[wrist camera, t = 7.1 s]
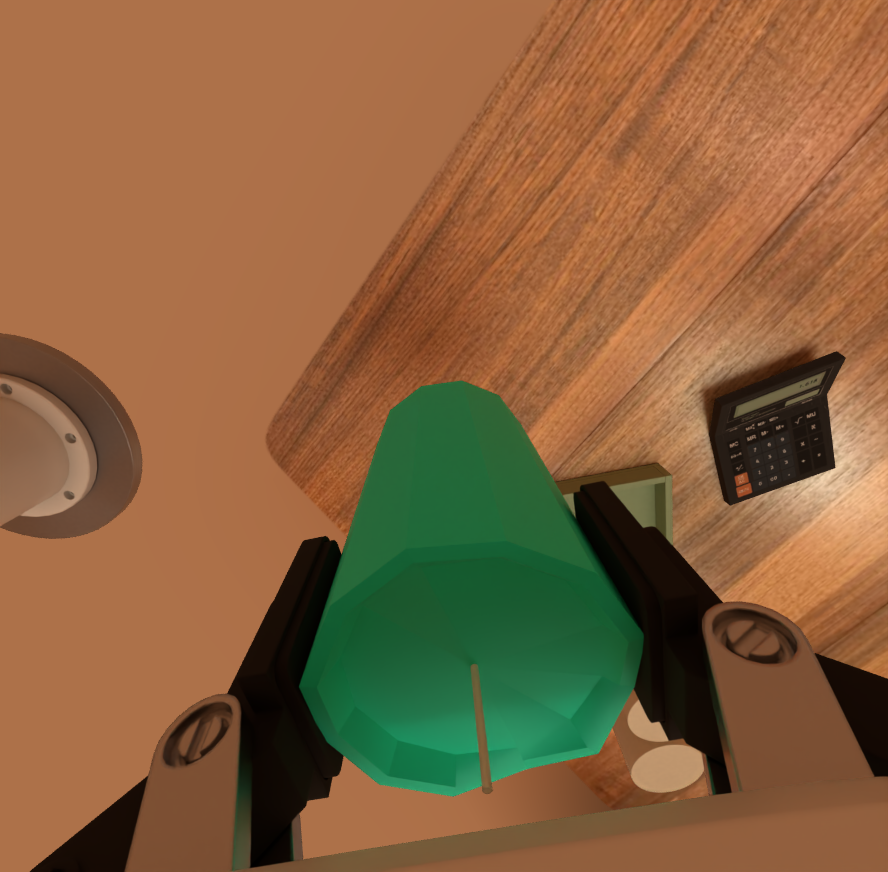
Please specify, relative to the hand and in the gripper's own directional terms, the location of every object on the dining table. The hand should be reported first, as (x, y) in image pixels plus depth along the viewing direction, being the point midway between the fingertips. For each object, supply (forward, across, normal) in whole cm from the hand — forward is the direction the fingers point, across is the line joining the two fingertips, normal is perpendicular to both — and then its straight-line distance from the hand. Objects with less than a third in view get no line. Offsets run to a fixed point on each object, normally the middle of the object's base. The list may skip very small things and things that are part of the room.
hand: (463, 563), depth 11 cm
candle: (+7, 0, 0) cm, 7 cm away
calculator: (+26, -27, +12) cm, 39 cm away
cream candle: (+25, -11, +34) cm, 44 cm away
